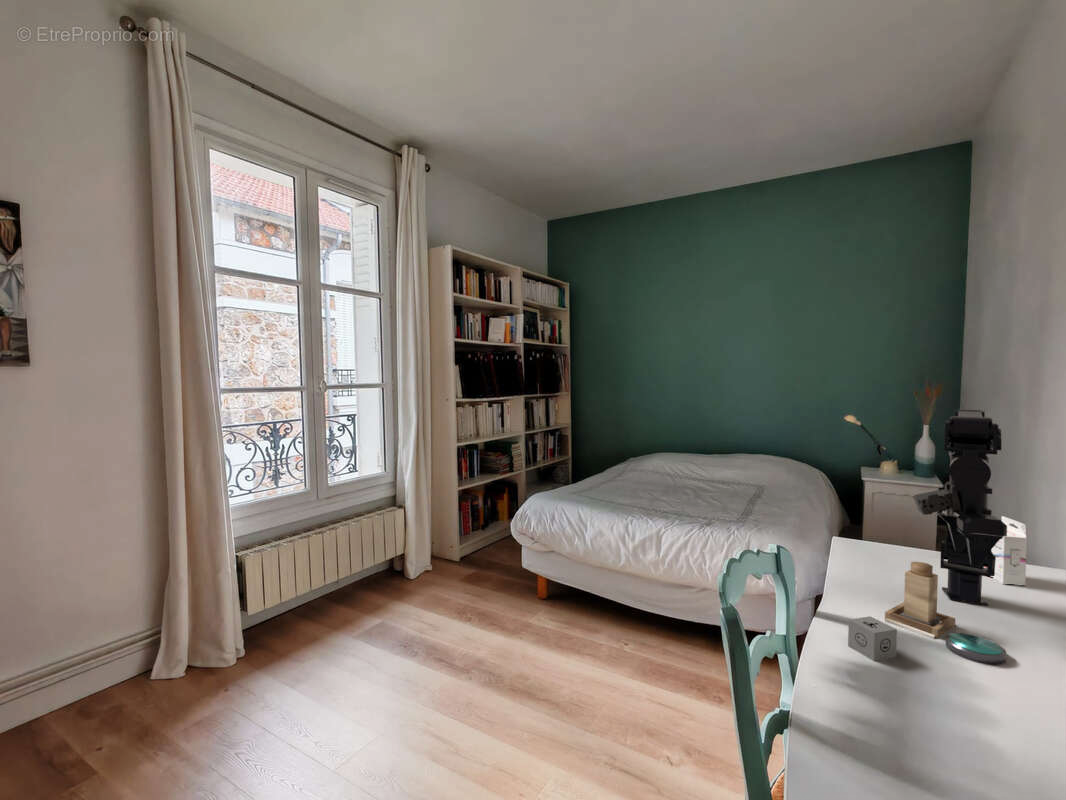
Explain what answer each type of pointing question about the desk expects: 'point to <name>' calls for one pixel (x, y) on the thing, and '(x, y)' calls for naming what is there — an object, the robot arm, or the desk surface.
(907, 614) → the stamp
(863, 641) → the dice cube
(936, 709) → the desk surface
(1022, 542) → the ink cartridge box
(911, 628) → the frame
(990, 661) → the pad
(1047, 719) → the desk surface
